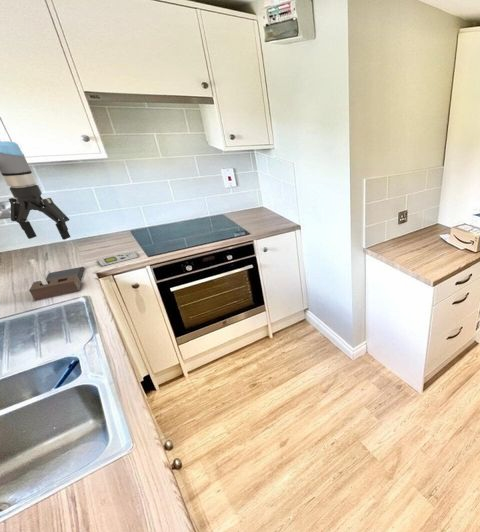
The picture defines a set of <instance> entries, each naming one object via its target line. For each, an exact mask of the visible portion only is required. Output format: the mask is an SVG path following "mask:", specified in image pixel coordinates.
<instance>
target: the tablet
mask: <svg viewBox="0 0 480 532" xmlns="http://www.w3.org/2000/svg"><path fill="white" fill-rule="evenodd" d="M84 271H85V267H84V266H79V267H74V268H73V267H72V268H68V269H62V270H58V271H53V272H49V273H48V275H47V276H46V277H45V279H46V280H47V279H52V278H57V277H62V276H68V275H73V274H77V276H78V278H79V280H80V281H81V279H82V277H83V275H84V274H83V273H84Z"/></svg>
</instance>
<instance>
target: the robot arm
mask: <svg viewBox="0 0 480 532" xmlns="http://www.w3.org/2000/svg"><path fill="white" fill-rule="evenodd" d="M0 173H1V175H2V178H3V179H4V182H5V184H6V185H7V187H9V191H10V193H11V194H12V196H13V197H10V198H8V201H9V204H10V220H11V222H16V223H17V224H18V225H19V226H20V228H21V230H22V231H23V232H24V233H25V236H26V237H27V239H29V240H31V239H34V238H37V234H36V232H35V230H34V227H33V226H32V224H31V222H30V221H29V220H28V217H29V214H30V212H31V211H38V212H41V213H42V214H44V215H45V216H47V217H48V218H49V219H50V220H52V221H54V222H55V227H56V228H57V231H58V233H59V235H60V237H61V239H62V240H64V241H65V240H67V239H70V238H71V234H70V233H69V231H68V230H69V228H68V226H67V223H66V222H69V221H70V218H69V217H68V216H67V215H66V214H65V213H64V212H63V211H62V210H61V209H60V208H59V207H58V206H57V205H56V204H55V203H54V201H53V199H52V198H51V197H47V198H43V197H42V194H43V192H42V190H41V188H40V186H39V185H38V184H37V179H36V178H35V176H34V174H33V171H32V169H31V168H30V165H29V163H28V161H27V159H26V157H25V154H24V153H23V151H22V150H21V147H20V145H19V144H18V143H16V142H15V141H5V140H4V141H3V140H2V141H0Z"/></svg>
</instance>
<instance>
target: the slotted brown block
mask: <svg viewBox="0 0 480 532" xmlns="http://www.w3.org/2000/svg"><path fill="white" fill-rule="evenodd" d="M46 281H47V283H48V284H46V285H43V284H42V282H41V281H40V280H37V281H34V282H33V283H31V286H30V288H29V289H28V291H29V293H30V295H31V296H32V298H33V299H34V301H40V300H44V299H49V298H55V297H58V296H63V295H68V294H72V293H76V292H80V289H81V286H82V282H81V280H79V278H78V276H77V274H73V275H68V276H62V277H57V278H52V279H47V280H46Z"/></svg>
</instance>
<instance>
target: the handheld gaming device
mask: <svg viewBox="0 0 480 532" xmlns="http://www.w3.org/2000/svg"><path fill="white" fill-rule="evenodd" d="M138 257H139V256H138V255H137V253H136V252H135V251H129V252H125V253H120V254H117V255H111V256H108V257H103V258H99V259H98V260H97V261H98V263H99V265H100V266H101V267H103V266H108V265H113V264H116V263H120V262H124V261H127V260H132V259H135V258H138Z"/></svg>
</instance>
